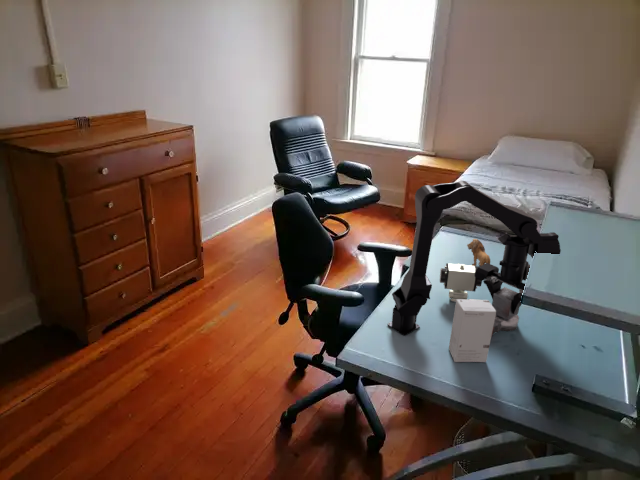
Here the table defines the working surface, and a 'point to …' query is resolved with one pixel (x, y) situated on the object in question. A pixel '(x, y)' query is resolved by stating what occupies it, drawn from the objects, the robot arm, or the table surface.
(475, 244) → the lion figurine
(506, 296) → the brushed metal block
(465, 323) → the skincare box
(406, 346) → the table surface
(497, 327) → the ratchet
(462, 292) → the pneumatic valve
